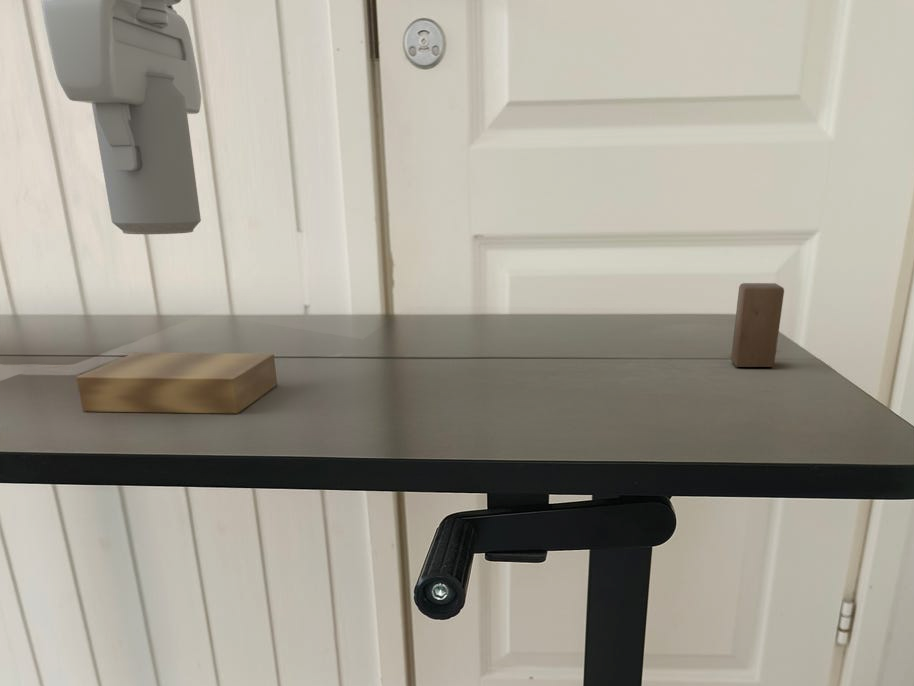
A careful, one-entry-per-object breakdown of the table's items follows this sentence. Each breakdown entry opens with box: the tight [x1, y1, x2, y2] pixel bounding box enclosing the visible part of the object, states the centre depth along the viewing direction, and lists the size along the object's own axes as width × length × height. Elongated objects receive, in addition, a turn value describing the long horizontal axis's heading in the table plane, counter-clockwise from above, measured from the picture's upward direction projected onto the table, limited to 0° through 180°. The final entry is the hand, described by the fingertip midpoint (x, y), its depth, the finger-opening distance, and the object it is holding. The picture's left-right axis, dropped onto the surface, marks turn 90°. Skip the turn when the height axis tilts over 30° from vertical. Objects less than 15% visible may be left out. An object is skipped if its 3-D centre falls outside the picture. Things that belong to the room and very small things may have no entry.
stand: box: [76, 352, 278, 415], centre depth 84 cm, size 14×12×3 cm
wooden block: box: [730, 282, 785, 368], centre depth 95 cm, size 4×4×8 cm
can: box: [91, 72, 202, 235], centre depth 78 cm, size 8×8×12 cm
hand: (150, 170), depth 78 cm, fingers closed on can, 7 cm apart
